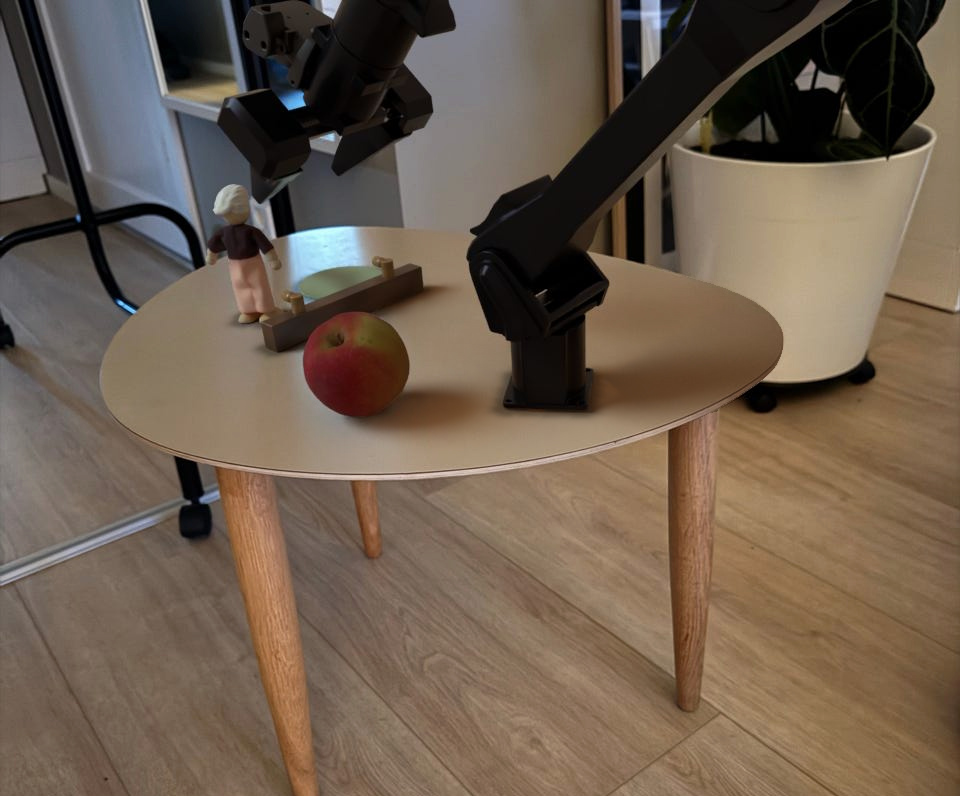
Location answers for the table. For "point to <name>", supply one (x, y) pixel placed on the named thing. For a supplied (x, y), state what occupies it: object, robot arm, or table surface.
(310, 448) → the table surface
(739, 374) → the table surface
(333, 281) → the hook rail
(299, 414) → the table surface
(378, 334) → the apple
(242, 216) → the grandmother figurine
